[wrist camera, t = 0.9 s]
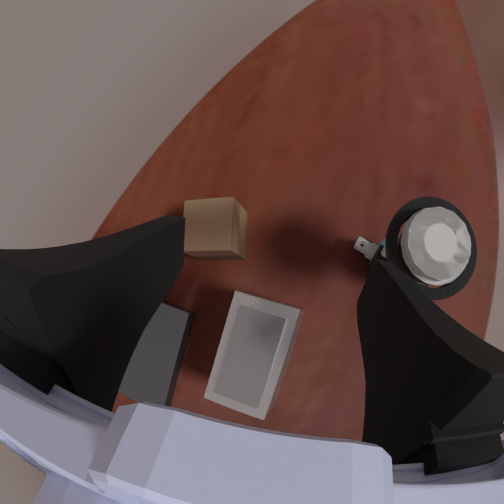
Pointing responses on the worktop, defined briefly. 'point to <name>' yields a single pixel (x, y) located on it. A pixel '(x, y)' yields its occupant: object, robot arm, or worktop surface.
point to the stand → (158, 356)
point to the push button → (428, 246)
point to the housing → (253, 354)
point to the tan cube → (215, 229)
